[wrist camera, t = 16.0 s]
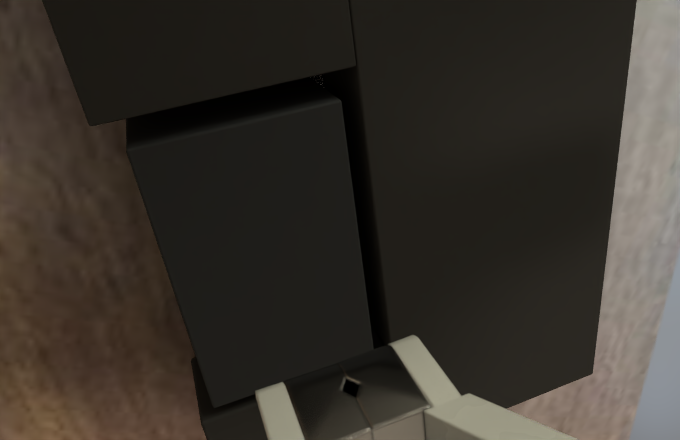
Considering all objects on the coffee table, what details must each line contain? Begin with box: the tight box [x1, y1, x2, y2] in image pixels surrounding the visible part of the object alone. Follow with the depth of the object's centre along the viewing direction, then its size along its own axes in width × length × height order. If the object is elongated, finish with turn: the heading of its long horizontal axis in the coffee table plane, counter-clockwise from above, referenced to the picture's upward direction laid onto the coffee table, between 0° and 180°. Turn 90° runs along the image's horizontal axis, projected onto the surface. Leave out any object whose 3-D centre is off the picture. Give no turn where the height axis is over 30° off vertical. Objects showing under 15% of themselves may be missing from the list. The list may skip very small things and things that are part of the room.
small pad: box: [126, 77, 374, 408], centre depth 16 cm, size 8×5×3 cm, turn 8°
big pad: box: [42, 0, 637, 440], centre depth 17 cm, size 18×14×3 cm
